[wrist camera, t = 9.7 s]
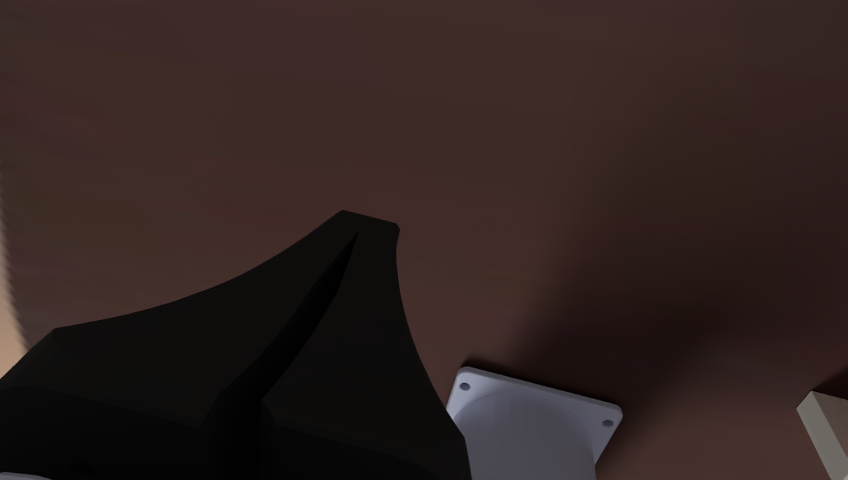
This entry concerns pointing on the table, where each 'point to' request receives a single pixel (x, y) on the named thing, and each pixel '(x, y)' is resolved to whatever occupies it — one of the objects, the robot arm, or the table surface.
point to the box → (828, 430)
